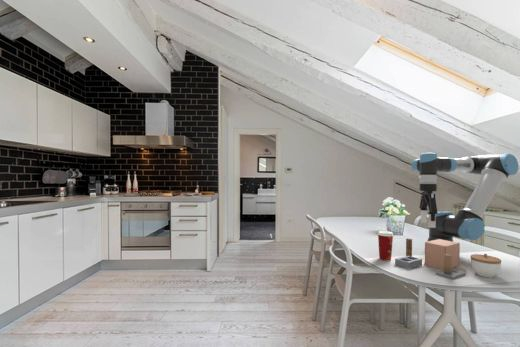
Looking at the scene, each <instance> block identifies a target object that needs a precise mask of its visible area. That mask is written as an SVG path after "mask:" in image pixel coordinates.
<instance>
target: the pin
mask: <svg viewBox="0 0 520 347" xmlns="http://www.w3.org/2000/svg"><path fill="white" fill-rule="evenodd" d="M405 240H406V241H405V256H412V257H413V239H412V238H408V237H407V238H405Z"/></svg>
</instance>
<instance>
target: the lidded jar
mask: <svg viewBox="0 0 520 347" xmlns="http://www.w3.org/2000/svg"><path fill="white" fill-rule="evenodd" d="M470 265H471V268H472V270H473V271H474V272H475V273H476V275H478V276H480V277H484V278H490V279H491V278H495V277H496V276H498V274H499V273H500V272H501V267H502V259H501V258H500V257H499V258H498V257H496V256H492V255H488V254H487V253H483V254H479V253H478V254H477V253H474V254H471V255H470Z"/></svg>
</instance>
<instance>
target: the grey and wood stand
mask: <svg viewBox="0 0 520 347" xmlns="http://www.w3.org/2000/svg"><path fill="white" fill-rule="evenodd" d="M435 275H437V276H440V277H443V278H448V279H451V280H456V279H458V278H461V277H463V276H466V272H465V271H461V270H457V269H455V268H454V269H453V268H452V255H449V254H444V270H443V269H440V270H438V271H436V272H435Z"/></svg>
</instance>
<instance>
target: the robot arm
mask: <svg viewBox="0 0 520 347" xmlns="http://www.w3.org/2000/svg"><path fill="white" fill-rule="evenodd" d="M411 169H412V170H413V171H414V172H418V173H419V177H418V179H419V191H421V192H420V194H421V196H420V202H419V209H420V223H421V224H427V221H428V238H427V241H426V242H428V241H432V240H437V239H442V240H447V241H452V242H455V241H454V238H459V239H462V240H466V241H476V240H479V239H480V238H482V236H483V234H484V233H485V230H486V229H485V227H486V226H485V223H484V218H483V215H484V213H485V212H486V210H487V207H488V206H489V204H490V202H491V200H493V197H494V196H495V194H496V192H497V190H498V189H499V186H500V185H501V184H502V182H506V181H507V179H508V177H509V176H515V175H516V174H517V173H518V170H519V162H518V159H517V158H516V156H515V155H514V154H512V153H504V152H503V153H496V154H495V153H494V154H480V155H474V156H465V157H461V158H454V157H441V156H438V154H437V153H436V152H423V153H421V154H420V156H419V158H415V159H413V160H412V162H411ZM451 172H460V173H463V174H475V175H481V178H480V179H479V181H478V183H477V184H476V186H475V188H474V190H473V192H471V193H472V194H470V196H469V198H468V200H467V202H466V204H465V206H464V207H463V208H462V209H459V210H457V213H456V214H454V212H453V211H438V207H437V206H438V205H437V200H436V193H433V192H437V189H438V186H437V185H438V184H437V182H438V173H451Z"/></svg>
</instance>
